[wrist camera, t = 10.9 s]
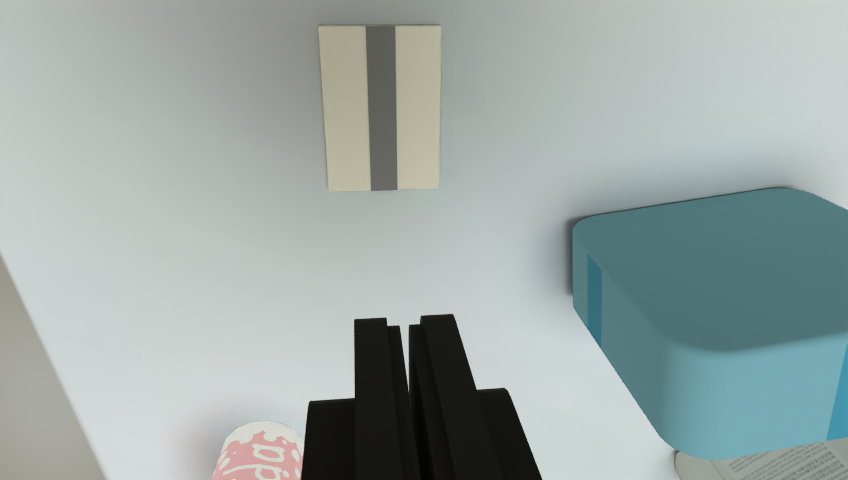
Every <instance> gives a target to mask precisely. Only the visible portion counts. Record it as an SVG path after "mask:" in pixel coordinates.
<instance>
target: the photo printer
mask: <svg viewBox="0 0 848 480" xmlns="http://www.w3.org/2000/svg"><path fill="white" fill-rule="evenodd" d="M675 468H676V471H677V473H678V475H679V477H680V478H681V480H848V437H847V438H841V439H836V440H830V441H825V442H819V443H814V444H808V445H802V446H797V447H791V448H786V449H780V450H775V451H769V452H763V453H758V454H752V455H747V456H741V457H736V458H730V459H723V460H707V459H700V458H696V457H692V456H689V455H687V454H684V453H682V452H680V451H679V452H678V453H677V455H676V459H675Z"/></svg>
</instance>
